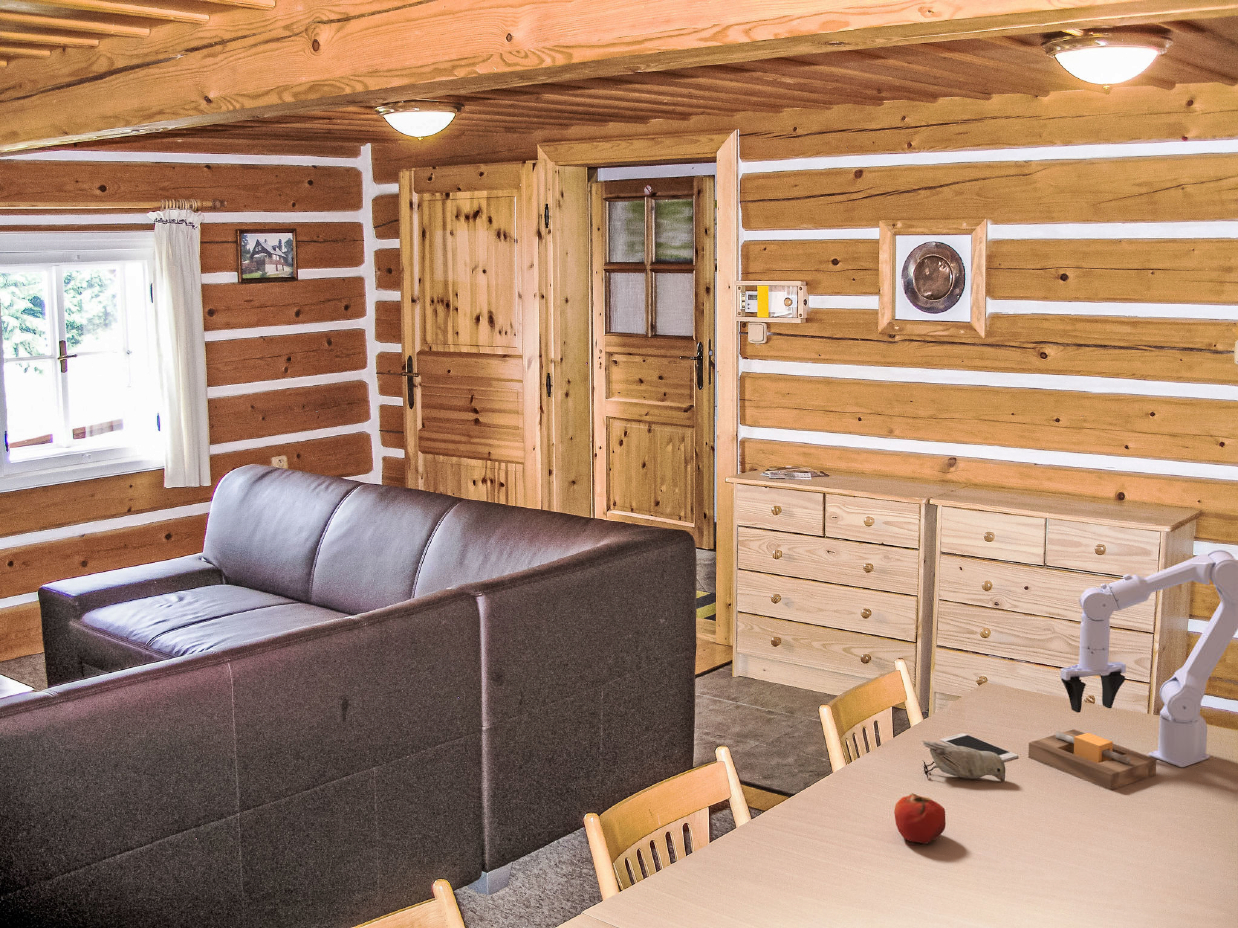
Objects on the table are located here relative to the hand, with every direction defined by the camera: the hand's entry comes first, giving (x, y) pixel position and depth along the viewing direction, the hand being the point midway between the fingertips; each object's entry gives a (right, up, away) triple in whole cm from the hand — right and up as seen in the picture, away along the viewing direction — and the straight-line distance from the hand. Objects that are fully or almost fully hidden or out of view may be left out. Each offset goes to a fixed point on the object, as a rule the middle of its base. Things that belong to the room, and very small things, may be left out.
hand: (1091, 708), depth 262 cm
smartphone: (-23, -10, +4) cm, 25 cm away
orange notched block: (-2, -10, -6) cm, 12 cm away
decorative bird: (-30, -12, -11) cm, 34 cm away
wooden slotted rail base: (-2, -10, -6) cm, 12 cm away
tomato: (-45, -16, -37) cm, 61 cm away
